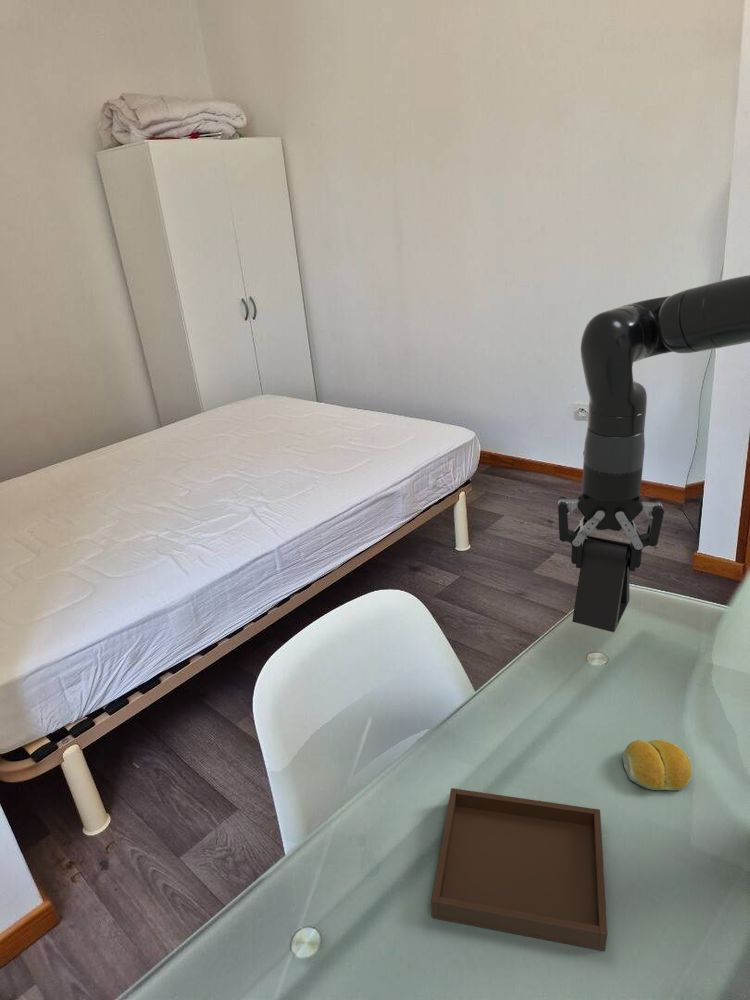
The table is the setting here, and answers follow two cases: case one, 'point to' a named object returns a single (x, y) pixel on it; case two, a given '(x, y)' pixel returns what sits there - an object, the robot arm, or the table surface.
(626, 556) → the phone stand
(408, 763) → the table surface
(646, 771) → the bread roll
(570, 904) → the tray
